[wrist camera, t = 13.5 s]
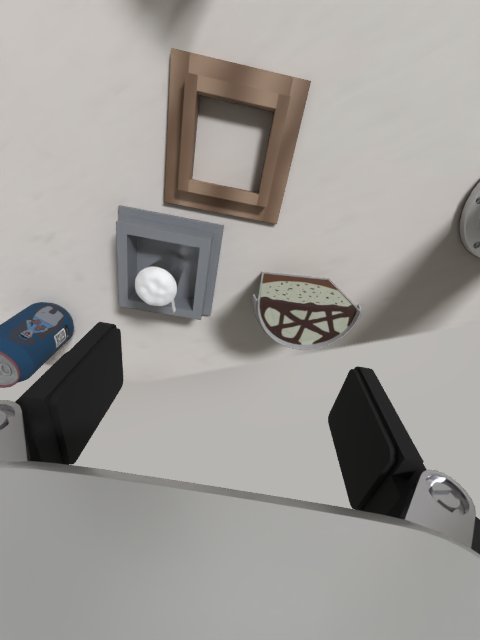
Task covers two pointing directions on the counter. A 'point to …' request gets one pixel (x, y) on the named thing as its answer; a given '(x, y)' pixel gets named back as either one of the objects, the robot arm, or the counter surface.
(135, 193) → the counter surface
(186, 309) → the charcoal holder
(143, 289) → the milkshake
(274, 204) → the walnut dock
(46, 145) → the counter surface
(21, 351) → the soda can
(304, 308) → the food container
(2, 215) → the counter surface
